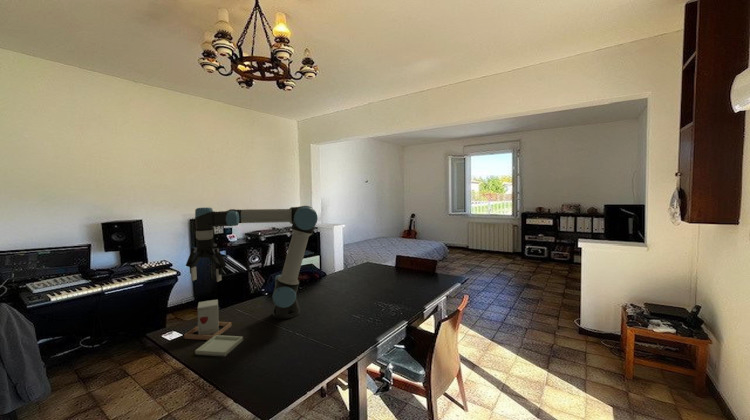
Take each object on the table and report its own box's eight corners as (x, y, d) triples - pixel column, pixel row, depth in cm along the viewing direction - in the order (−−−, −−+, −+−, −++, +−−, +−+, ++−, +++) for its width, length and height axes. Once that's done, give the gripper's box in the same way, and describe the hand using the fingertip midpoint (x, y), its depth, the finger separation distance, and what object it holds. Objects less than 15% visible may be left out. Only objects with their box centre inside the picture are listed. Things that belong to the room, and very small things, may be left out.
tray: (243, 340, 143) (242, 336, 143) (225, 356, 129) (225, 352, 129) (215, 338, 145) (215, 335, 145) (195, 354, 131) (195, 350, 131)
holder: (231, 326, 158) (231, 322, 158) (212, 340, 144) (212, 336, 143) (205, 324, 160) (205, 320, 160) (184, 338, 145) (184, 334, 145)
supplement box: (198, 337, 146) (196, 308, 145) (199, 330, 154) (197, 301, 153) (219, 333, 150) (217, 304, 149) (219, 326, 158) (217, 298, 157)
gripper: (232, 237, 151) (234, 279, 152) (187, 237, 154) (189, 277, 155) (223, 240, 143) (225, 283, 145) (176, 239, 147) (178, 281, 148)
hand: (206, 280), depth 150 cm, fingers open, 13 cm apart
